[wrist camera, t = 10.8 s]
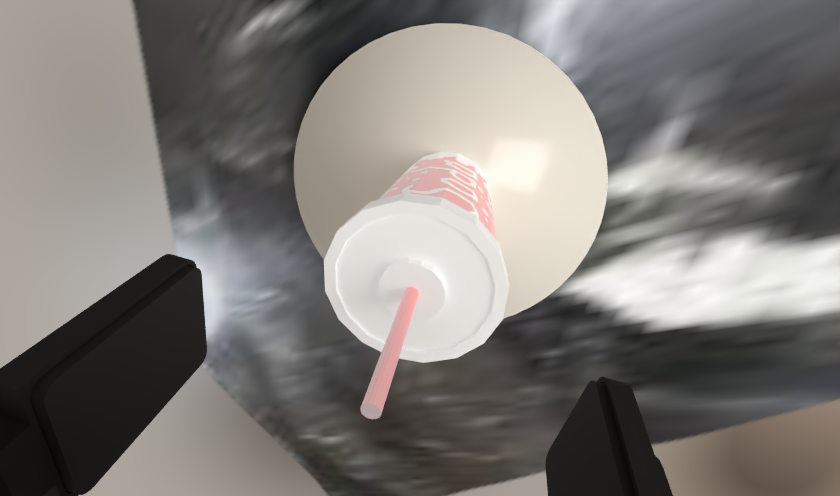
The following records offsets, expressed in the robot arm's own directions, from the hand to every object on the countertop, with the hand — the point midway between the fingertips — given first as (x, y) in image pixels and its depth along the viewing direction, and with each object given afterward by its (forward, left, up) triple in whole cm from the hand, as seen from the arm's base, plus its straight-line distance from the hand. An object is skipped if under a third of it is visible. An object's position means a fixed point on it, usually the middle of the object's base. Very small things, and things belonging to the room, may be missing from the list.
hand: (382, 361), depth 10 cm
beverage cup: (0, 0, -13) cm, 13 cm away
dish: (+1, 0, -14) cm, 14 cm away
